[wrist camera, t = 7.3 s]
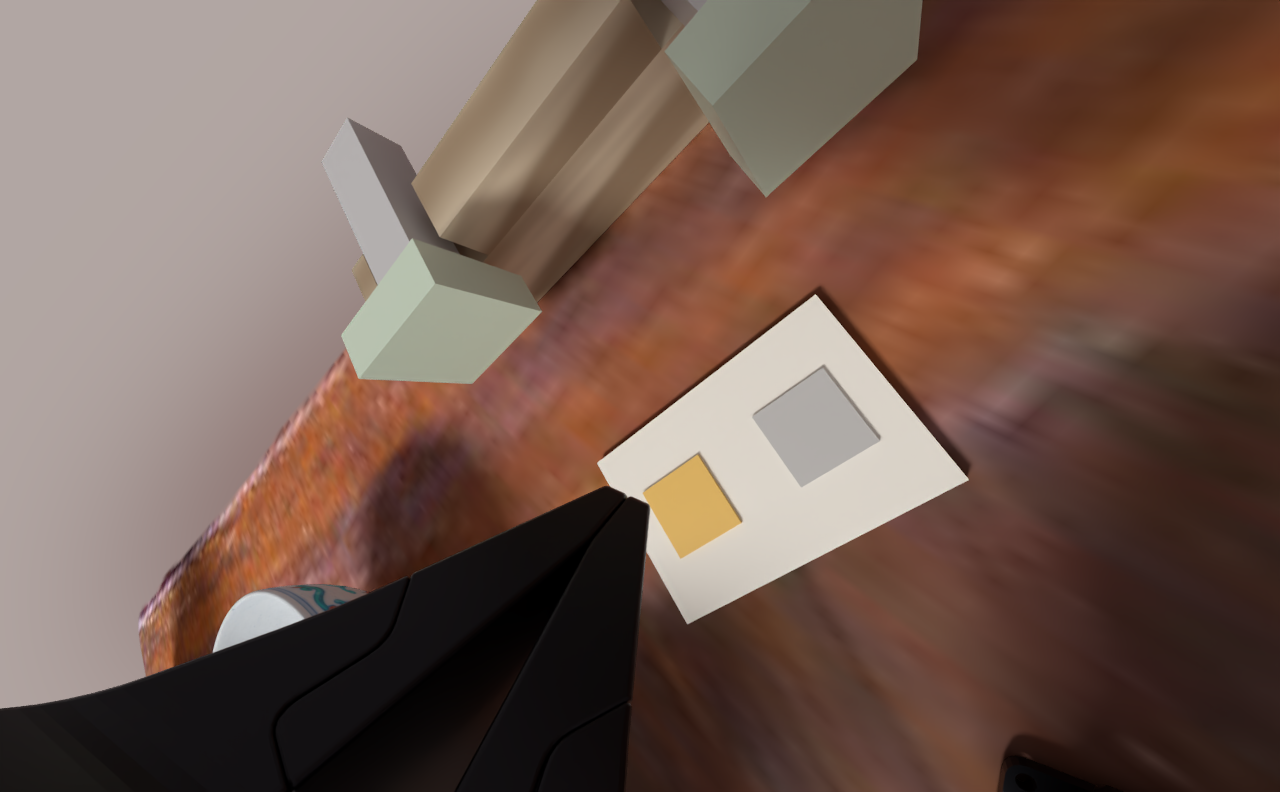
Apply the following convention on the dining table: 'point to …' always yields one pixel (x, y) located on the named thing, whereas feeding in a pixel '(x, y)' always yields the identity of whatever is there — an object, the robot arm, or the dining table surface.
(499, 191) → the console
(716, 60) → the button
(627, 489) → the card
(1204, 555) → the dining table surface
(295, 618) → the chinaware
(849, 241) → the dining table surface
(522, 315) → the button
